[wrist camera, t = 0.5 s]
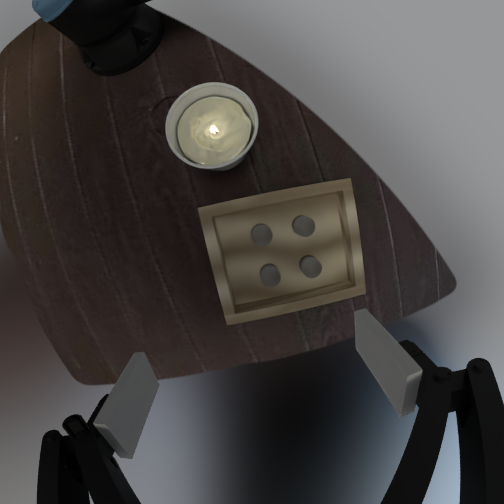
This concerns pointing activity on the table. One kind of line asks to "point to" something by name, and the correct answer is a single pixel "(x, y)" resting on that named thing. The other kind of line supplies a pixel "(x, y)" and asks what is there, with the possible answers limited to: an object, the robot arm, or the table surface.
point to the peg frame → (284, 250)
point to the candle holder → (212, 126)
